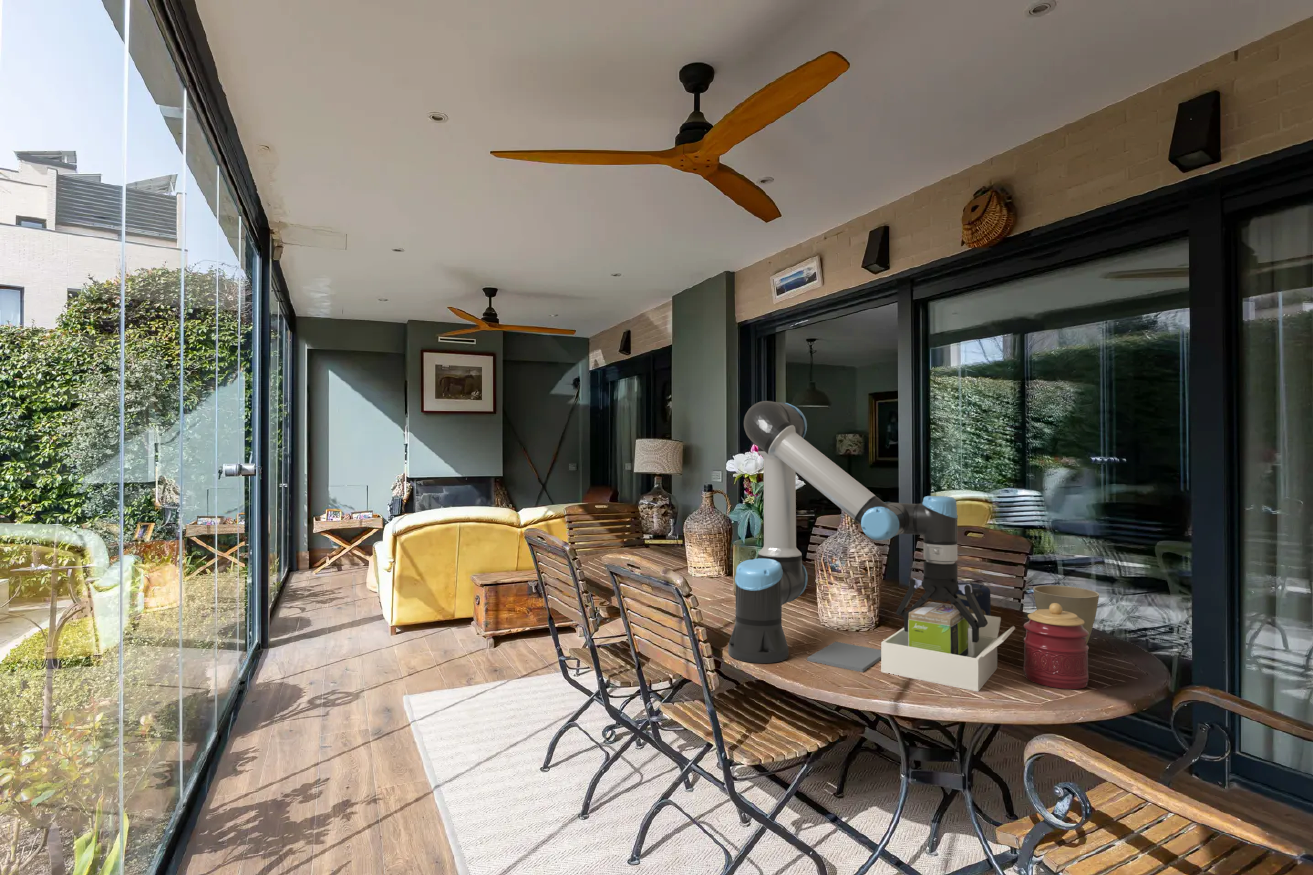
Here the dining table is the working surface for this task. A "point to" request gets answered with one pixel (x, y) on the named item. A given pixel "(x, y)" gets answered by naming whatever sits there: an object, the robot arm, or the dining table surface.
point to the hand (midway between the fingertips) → (940, 650)
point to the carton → (945, 659)
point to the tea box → (939, 629)
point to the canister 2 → (1056, 649)
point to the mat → (847, 656)
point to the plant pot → (1069, 602)
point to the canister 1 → (977, 598)
